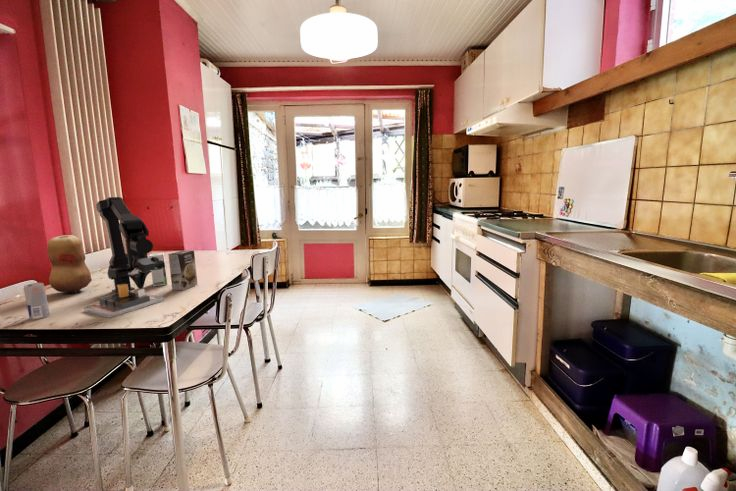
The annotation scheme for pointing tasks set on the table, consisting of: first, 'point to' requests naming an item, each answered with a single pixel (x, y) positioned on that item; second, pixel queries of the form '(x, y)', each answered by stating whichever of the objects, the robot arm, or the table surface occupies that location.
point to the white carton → (36, 301)
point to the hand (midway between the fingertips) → (141, 289)
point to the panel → (111, 314)
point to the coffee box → (182, 270)
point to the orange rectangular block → (123, 290)
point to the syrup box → (159, 271)
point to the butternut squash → (67, 264)
